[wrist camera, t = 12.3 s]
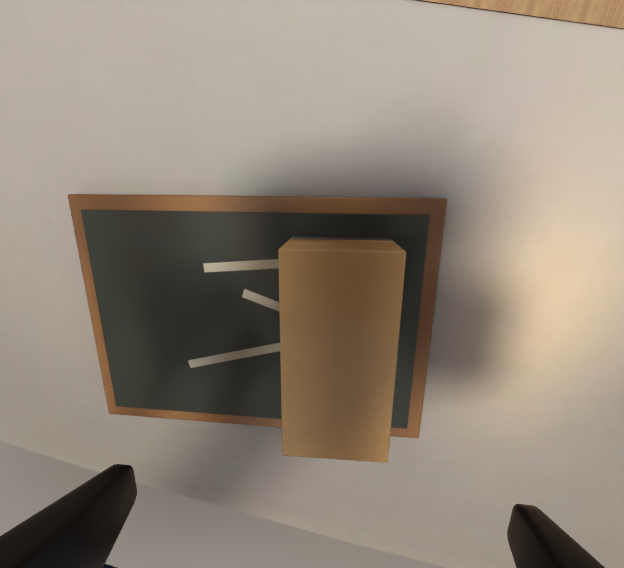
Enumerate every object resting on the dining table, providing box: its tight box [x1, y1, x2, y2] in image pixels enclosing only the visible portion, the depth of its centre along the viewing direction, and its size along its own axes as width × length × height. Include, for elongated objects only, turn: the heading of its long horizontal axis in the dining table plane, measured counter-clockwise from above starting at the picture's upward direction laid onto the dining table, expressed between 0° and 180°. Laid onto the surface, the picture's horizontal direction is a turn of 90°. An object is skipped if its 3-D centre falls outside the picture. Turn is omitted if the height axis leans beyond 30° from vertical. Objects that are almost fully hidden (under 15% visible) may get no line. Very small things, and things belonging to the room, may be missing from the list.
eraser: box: [278, 236, 406, 463], centre depth 16 cm, size 5×10×4 cm, turn 179°
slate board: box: [68, 194, 447, 438], centre depth 19 cm, size 20×14×1 cm
